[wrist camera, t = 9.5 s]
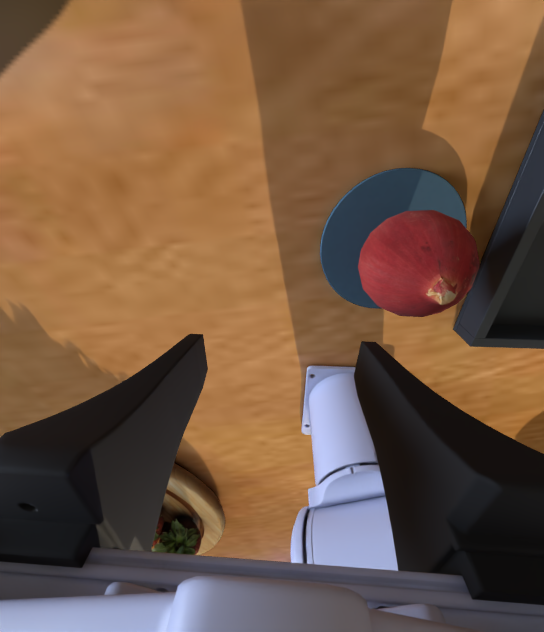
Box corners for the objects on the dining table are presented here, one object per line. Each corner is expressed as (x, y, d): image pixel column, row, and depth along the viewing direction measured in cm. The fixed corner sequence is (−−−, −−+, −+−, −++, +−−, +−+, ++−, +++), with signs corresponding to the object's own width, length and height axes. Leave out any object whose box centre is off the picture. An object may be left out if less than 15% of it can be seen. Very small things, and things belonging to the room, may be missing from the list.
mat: (436, 307, 21) (439, 310, 20) (314, 304, 21) (315, 307, 21) (486, 168, 16) (492, 168, 15) (327, 167, 16) (328, 168, 16)
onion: (447, 201, 16) (563, 228, 10) (422, 286, 19) (497, 353, 12) (354, 201, 17) (400, 227, 10) (342, 285, 20) (372, 350, 13)
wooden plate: (138, 558, 51) (114, 622, 44) (-31, 481, 39) (-102, 552, 32) (269, 520, 40) (265, 597, 33) (91, 396, 28) (23, 475, 21)
